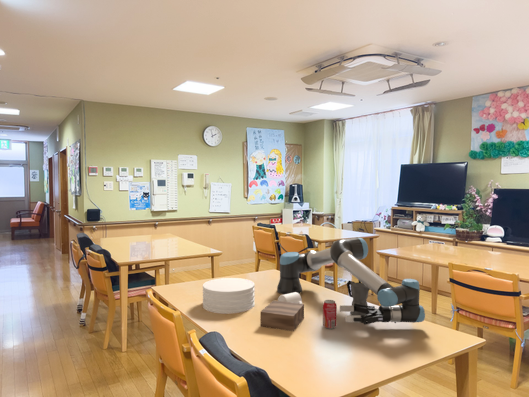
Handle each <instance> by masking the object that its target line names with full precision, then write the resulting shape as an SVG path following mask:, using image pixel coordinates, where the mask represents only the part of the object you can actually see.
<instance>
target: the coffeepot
mask: <svg viewBox="0 0 529 397" xmlns="http://www.w3.org/2000/svg"><path fill="white" fill-rule="evenodd" d="M346 287H347V291H348V292H347V293H348V296H349V297H351V298H352V302H351V306H353V305H354V304H360V305H366V306H369V305H368V302H367V301H368V297H369V293H370V291H371V290H370V289H369V288H368V287H366V286H365V285H364V284H363V283H362V282H360V281H359V280H358V279H357V282H355V281H351V280H348V281H347V282H346ZM351 314H352V315H351ZM350 315H351V316H361V315H363V316H364V315H366V314H365V313H361V312H357V311H355V312H350Z"/></svg>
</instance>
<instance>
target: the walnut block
mask: <svg viewBox="0 0 529 397" xmlns="http://www.w3.org/2000/svg"><path fill="white" fill-rule="evenodd" d="M304 318H305V303H302V304H300V303H291V302H283V301H278V300H272V301H271V302H270V303H269V304H267V306H265V307H264V308H263V309H262V310H261V311H260V318H259V319H260V324H259V325H260V327H261V328H268V329H273V330H279V331H280V330H282V331H288V332H295V331H296V329H297V328H298V326H300V324H301V323H302V322H303V320H304Z"/></svg>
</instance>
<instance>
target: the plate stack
mask: <svg viewBox="0 0 529 397" xmlns="http://www.w3.org/2000/svg"><path fill="white" fill-rule="evenodd" d="M255 288H256V287H255V282H254V281H252V280H250V279H247V278H240V277H221V278H214V279H210V280H207V281H205V282H204V283H203V284H202V308H203V309H204V310H206V311H207V312H211V313H215V314H224V315H227V314H229V315H230V314H231V315H232V314H238V313H239V314H240V313H244V312H247V311H250V310H252V309H253V308H254V307H255V305H256V303H255V299H256V298H255V296H256V295H255V294H256V293H255V292H256V291H255Z"/></svg>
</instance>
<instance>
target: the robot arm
mask: <svg viewBox="0 0 529 397" xmlns="http://www.w3.org/2000/svg"><path fill="white" fill-rule="evenodd" d="M368 253H369V246H368V243H367V241H366V240H365V239H364V238H362V237H351V238H343V239H342V238H341V239H337V240H335V241H334V242H332V244H331V246H330V247H329V248H325V249H323V250H320V251H319V250H318V251H315V250H310V251H308V252H305V253H303V252H302V253H299V252H297V251H290V252H289V251H288V252H284V253H283V254H281V255H280V257H279V258H280V259H279V280H278V284H277V287H276V291H277V293H279V294H280V295H284V294H289V293H293V292H297V293H299V294H300V295H301V294H302V292H303V287H302V284H301V281H300V274H303V273H308V272H315V271H318V270H319V269H321V267H322V266H326V265H330V264H333V263H335V264H336V265H337V266H338V267H339V268H343V269H345V270H346V271H347V272H349V273H350V274H351V275H352V276H353V277H355V278H356V279H357V281H358V280H359V281H360V282H361V283H363V284H364V285H365V286H366V287H368V288H369V289H370V290H369V291H371V292H373V293H374V294H375V295H376V297H377V301H378V302H379V304H380V305H379V306H378V308H375V307H376V306H375V305H368V306H366V305H360V304H354V305H353V306H352V305H339V312H341V313H343V312H345V313H346V312H355V311H357V312H361V313H365V314H366V315H364V316H363V315H361V316H353V315H345V323H362V324H363V325H369V324H375V323H380V322H381V323H389V322H390V323H394V324H397V323H413V324H414V323H422V322H424V321H425V319H426V313H425V309H424V306H422V305H421V304H420V290H421V289H420V281H418V280H417V279H414V278H403V280H401V285H398V286H392V284H390V283H389V282H387V281H386V280H385V279H384V278H382V277H381V276H380V275H378V274H377V273H376V272H374V271H373V270H372V269H371V268H370V267H368V266H367V265H365V263H363V262H362V261H361V260H363V259H365V258H367V256H368ZM359 281H358V282H359Z"/></svg>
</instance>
